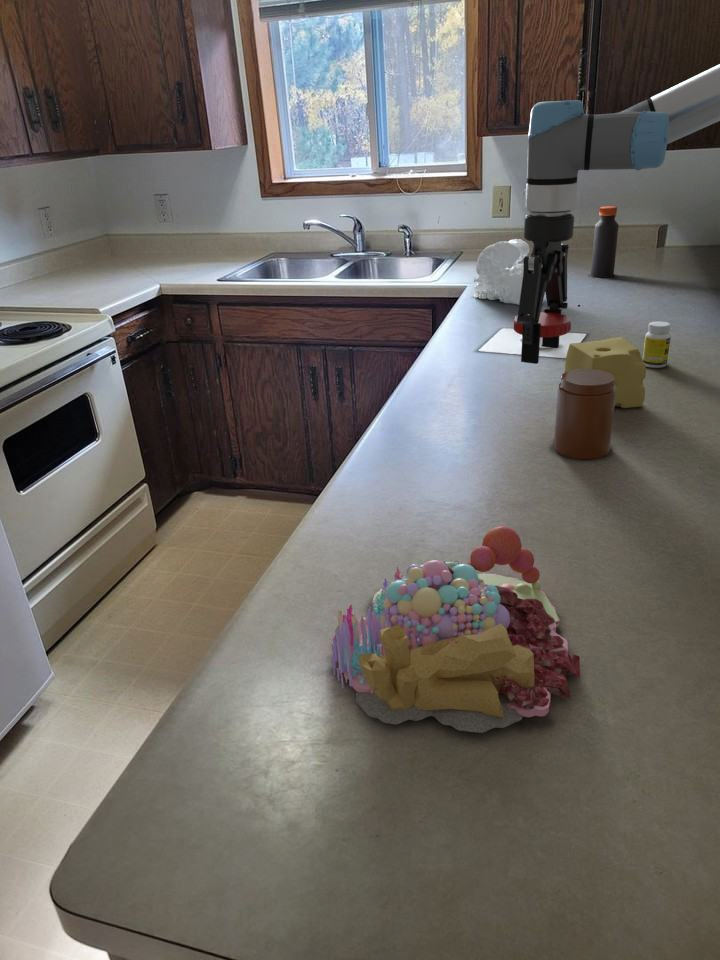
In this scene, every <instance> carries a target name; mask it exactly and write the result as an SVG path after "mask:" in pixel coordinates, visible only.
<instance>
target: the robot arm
mask: <svg viewBox="0 0 720 960" xmlns="http://www.w3.org/2000/svg"><path fill="white" fill-rule="evenodd" d="M583 103H584V102H583V101H582V100H580V99H572V100H553V101H551V100H550V101H539V102H537V103H535V104H533V107H532V108H531V110H530V116H529V117H530V118H529V127H528V136H527V157H526V158H527V159H526V161H527V162H526V184H525V185H526V186H525V187H526V188H525V189H524V190H523V192H522V193H523V196H524V197H525V204H524V205H525V208H524V209H525V211H526V212H527V214H525V216H524V217H523V218H524V219H523V223H524V224H523V238H524V240H526V241H528V242H532V244H533V247H532V251H531V254H530V255H529V256H528V255H526V256H525V257H524V259H523V263H524V272H523V280H522V287H521V295H520V303H519V305H518V312H517V316H518V317H517V322H518V323H523V333H522V352H521V356H520V362H521V363H526V364H527V363H528V364H534V365H537V364H539V362H540V356H539V347H540V331H541V323H538V322H539V317H540V313H541V312H542V308H543V303H544V299H546V308H544V310H543V312H551V313H559V314H562V311H563V310H562V309H565V310H566V309H567V308H568V306H569V305H568V304H569V303H568V302H567V301H568V255H569V254H568V253H569V244H568V243H562V242H566V241H569V240H571V239H572V238H573V236H574V229H575V228H574V227H575V226H574V225H575V216H574V213H572V211H574V210H576V205H577V203H576V202H577V191H578V173H579V171H593V170H594V171H597V170H598V171H602V170H603V171H605V170H607V171H609V170H610V171H611V170H612V171H613V170H635V171H641V170H644V169H645V170H646V169H656V168H659V167H661V166H662V165H663V164H664V162H665V160H666V159H665V158H666V154H667V147H668V145H669V144H672V143H674V142H676V141H678V140H680V139H682V138H684V137H687V136H689V135H691V134H693V133H696V132H698V131H700V130H702V129H705V128H707V127H709V126H712V125H713V124H716V123H718V122H720V63H719V64H717V65H715V66H712V67H710V68H709V69H707V70H704V71H702V72H700V73H698V74H696V75H694V76H692V77H690V78H688V79H686V80H683V81H682V82H680V83H678V84H676V85H674V86H672V87H669V88H668V89H665V90H663V91H661V92H659V93H657V94H655V95H652V96H651V97H649V98H648V99H645V100H643V101H641V102H638V103H636V104H634V105H632V106H630V107H628V108H626V109H624V110H620V111H618V112H615V113H614V112H613V113H612V112H611V113H601V114H594V113H593V114H592V113H591V114H590V113H585V111H584V104H583ZM528 314H529V315H528ZM559 337H560V336H556V337H543V340H542V347H550V348H558V347H559Z"/></svg>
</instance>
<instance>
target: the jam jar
mask: <svg viewBox="0 0 720 960" xmlns="http://www.w3.org/2000/svg"><path fill="white" fill-rule="evenodd" d="M615 398H616V386H615V377H614V376H613V375H612V374H610V373H608V372H605V371H601V370H594V369H576V370H571V371H567V372H565V371H564V372H563V373H562V374H561V375H560V383H559V384H558V385H557V396H556V407H555V408H556V411H555V422H554V423H555V424H554V436H553V437H554V438H553V449H554V450H555V452H556V453H558V454H560V455H562V456H563V457H568V458H570V459H572V458H573V459H576V460H577V459H578V460H594V459H599V458H600V459H601V458H603V457H605V456H607V455H608V454H609V453H610V451H611V442H612V434H613V424H614V414H615V407H616V406H615Z"/></svg>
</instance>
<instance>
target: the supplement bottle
mask: <svg viewBox="0 0 720 960" xmlns="http://www.w3.org/2000/svg"><path fill="white" fill-rule="evenodd" d="M670 331H671V323H670V322H667V321H662V320H661V321H660V320H658V321H651V322H649V323H648V328H647V332H646V333H645V337H644V345H643V352H642V361H643V362H644V363H645V366H646V367H647V368H652V369H659V368H660V369H662V368H665V367H666V366H667V365H668V359H669V352H670V346H671V337H672V336H671V333H670Z"/></svg>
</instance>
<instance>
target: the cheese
mask: <svg viewBox="0 0 720 960" xmlns="http://www.w3.org/2000/svg"><path fill="white" fill-rule="evenodd" d="M642 359H643V357H642V355H641V351H640V349H639V348H638V347H637V346H635V345H634V344H633V343H632V342H630V341H629V340H627V339H625V338H623V337H621V336H618V337H617V336H616V337H610V338H606V339H600V340H593V341H583V342H581V343H571V344H570V345H569V348H568V352H567V355H566V358H565V363H564V373H565V372H567V371H571V370H576V369H594V370H601V371H605V372H608V373H610V374H612V375H613V376H614V377H615V386H616V398H615V407H620V408H622V409H628V408H629V409H630V408H640V407H642V406H643V404H644V402H645V398H646V389H645V386H644V380H645V378H646V376H647V375H646V374H647V368H646V366H645V363H644V362H643V361H642Z"/></svg>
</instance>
